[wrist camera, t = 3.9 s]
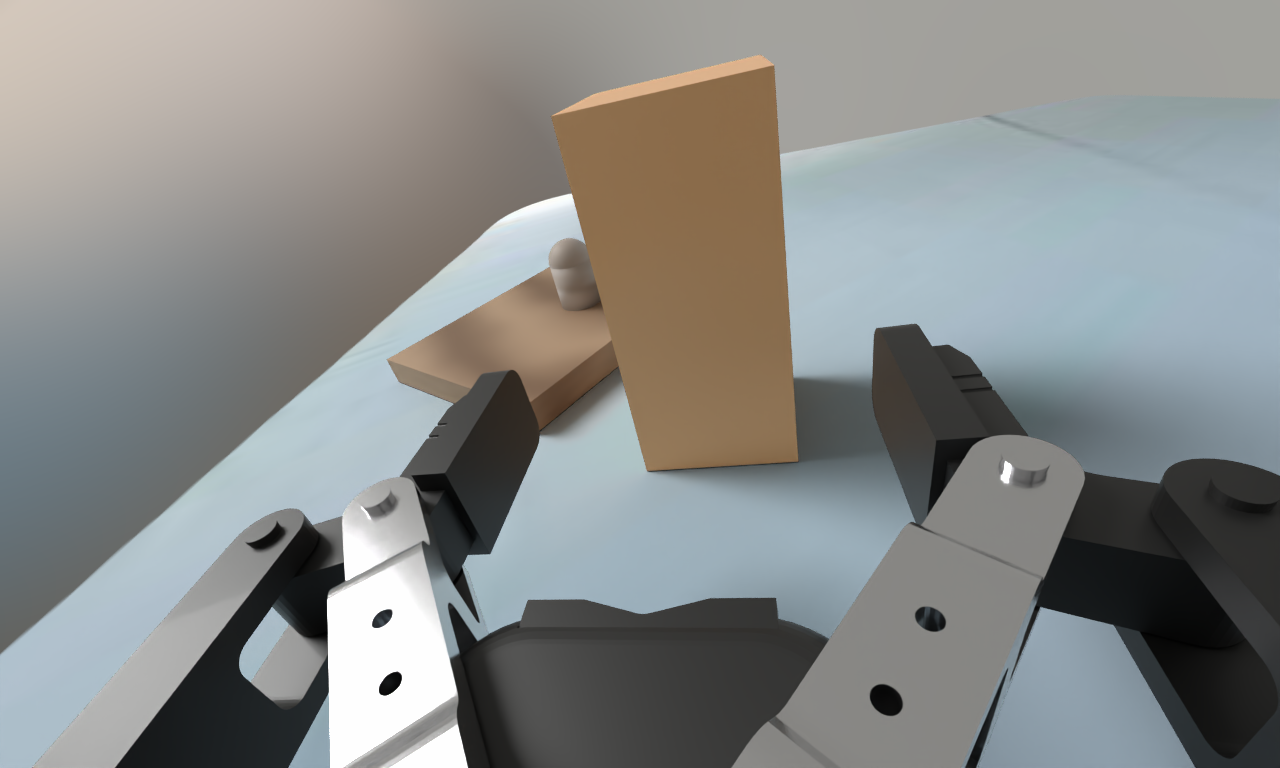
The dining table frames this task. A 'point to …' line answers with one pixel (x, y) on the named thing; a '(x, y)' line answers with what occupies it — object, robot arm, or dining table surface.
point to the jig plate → (523, 339)
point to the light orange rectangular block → (691, 259)
